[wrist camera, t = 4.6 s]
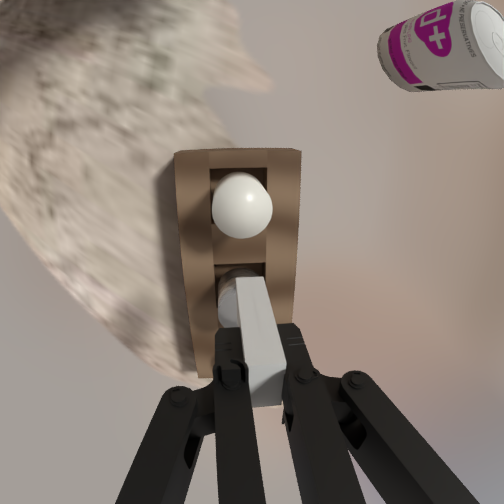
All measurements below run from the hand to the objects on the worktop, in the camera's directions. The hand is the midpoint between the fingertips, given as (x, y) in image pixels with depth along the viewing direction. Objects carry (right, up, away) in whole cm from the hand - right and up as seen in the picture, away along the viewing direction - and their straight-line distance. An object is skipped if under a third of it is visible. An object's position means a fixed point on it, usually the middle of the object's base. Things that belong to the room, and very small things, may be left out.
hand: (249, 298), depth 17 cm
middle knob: (-1, -1, +13) cm, 13 cm away
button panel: (-1, +1, +16) cm, 17 cm away
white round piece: (-1, +7, +9) cm, 12 cm away
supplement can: (+17, +25, +8) cm, 31 cm away
